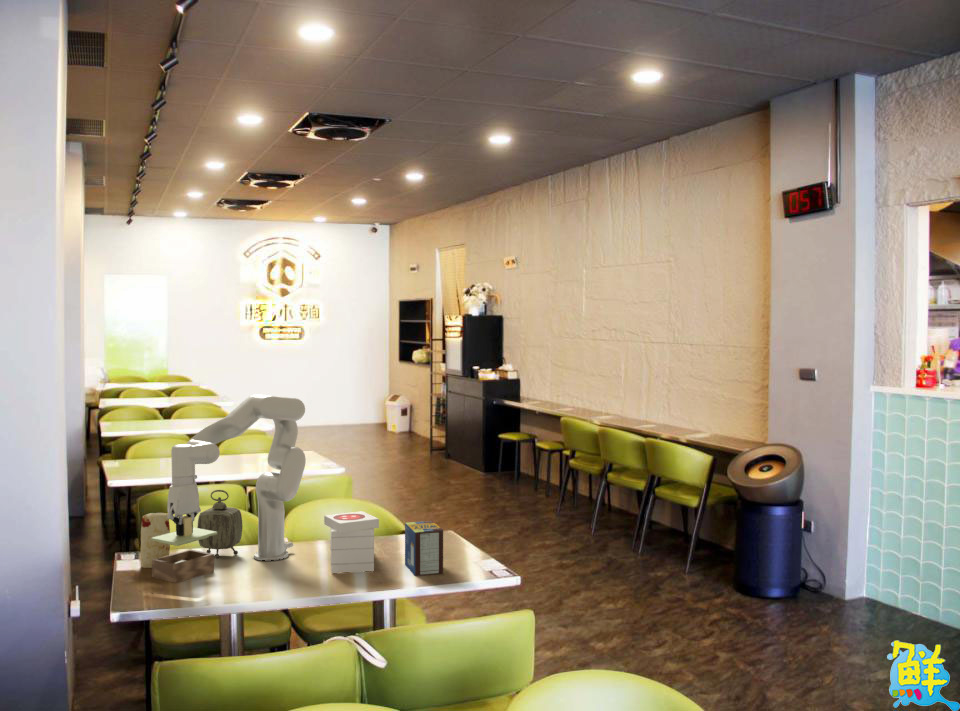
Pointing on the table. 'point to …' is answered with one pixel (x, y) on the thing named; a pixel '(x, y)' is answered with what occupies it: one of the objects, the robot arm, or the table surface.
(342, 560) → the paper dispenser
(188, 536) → the lid
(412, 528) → the protein box
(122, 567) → the table surface
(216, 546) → the tabletop clock
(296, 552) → the table surface
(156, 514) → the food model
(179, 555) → the box
